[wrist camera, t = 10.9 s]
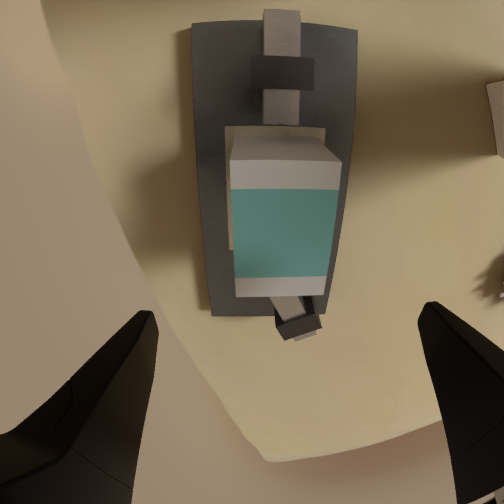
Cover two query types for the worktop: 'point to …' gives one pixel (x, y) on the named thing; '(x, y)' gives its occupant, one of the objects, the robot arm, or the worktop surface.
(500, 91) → the milk
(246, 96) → the shaft stand
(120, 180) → the worktop surface
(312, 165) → the block
